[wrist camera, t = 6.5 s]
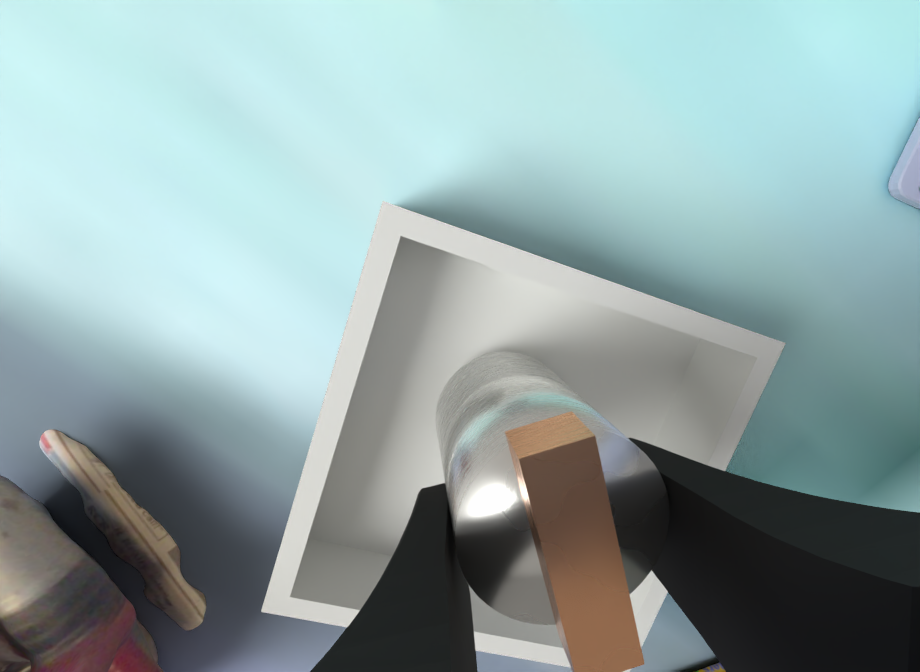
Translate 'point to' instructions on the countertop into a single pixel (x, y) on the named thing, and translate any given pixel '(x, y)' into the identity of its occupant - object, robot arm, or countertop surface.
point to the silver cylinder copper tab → (549, 506)
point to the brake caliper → (83, 576)
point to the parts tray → (448, 349)
